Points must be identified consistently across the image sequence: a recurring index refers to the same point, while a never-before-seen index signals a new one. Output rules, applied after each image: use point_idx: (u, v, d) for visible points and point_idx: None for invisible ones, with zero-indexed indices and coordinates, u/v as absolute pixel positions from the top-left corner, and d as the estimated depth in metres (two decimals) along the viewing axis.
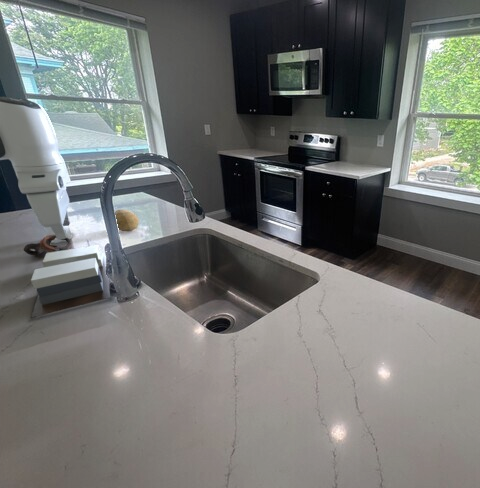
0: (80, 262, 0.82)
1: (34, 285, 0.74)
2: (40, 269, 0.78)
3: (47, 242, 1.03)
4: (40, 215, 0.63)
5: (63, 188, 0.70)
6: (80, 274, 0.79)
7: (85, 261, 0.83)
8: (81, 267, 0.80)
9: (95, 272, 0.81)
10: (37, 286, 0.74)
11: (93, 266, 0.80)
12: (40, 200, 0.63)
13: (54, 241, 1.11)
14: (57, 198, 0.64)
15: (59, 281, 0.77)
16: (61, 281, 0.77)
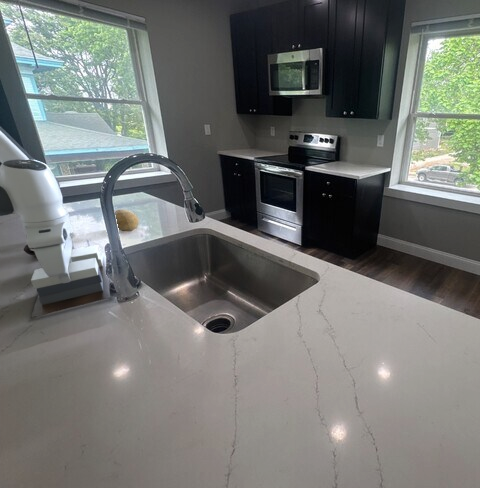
0: (80, 262, 0.82)
1: (34, 285, 0.74)
2: (40, 269, 0.78)
3: None
4: (46, 267, 0.69)
5: (67, 237, 0.76)
6: (80, 274, 0.79)
7: (85, 261, 0.83)
8: (81, 267, 0.80)
9: (95, 272, 0.81)
10: (37, 286, 0.75)
11: (93, 266, 0.80)
12: (46, 253, 0.68)
13: None
14: (62, 250, 0.70)
15: (59, 281, 0.77)
16: None
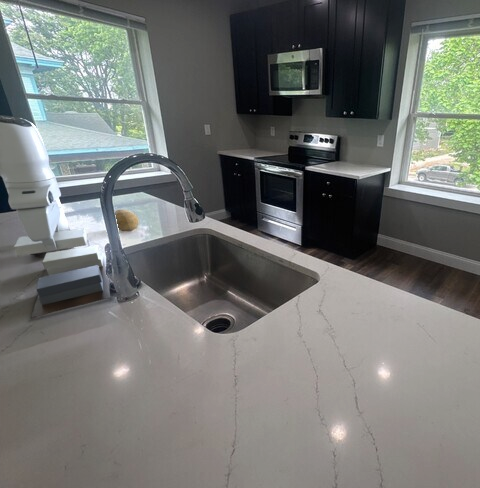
0: (68, 231, 0.78)
1: (17, 252, 0.70)
2: (25, 237, 0.74)
3: None
4: (29, 230, 0.65)
5: (53, 202, 0.72)
6: (68, 243, 0.75)
7: (73, 231, 0.79)
8: (68, 236, 0.76)
9: (83, 242, 0.76)
10: (21, 253, 0.70)
11: (81, 235, 0.76)
12: (29, 215, 0.64)
13: None
14: (47, 213, 0.66)
15: (45, 249, 0.73)
16: None
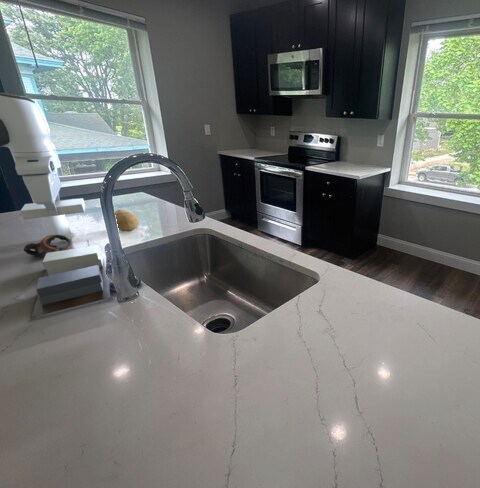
0: (68, 200, 0.87)
1: (23, 216, 0.79)
2: (30, 204, 0.83)
3: (47, 242, 1.03)
4: (34, 194, 0.74)
5: (55, 172, 0.81)
6: (68, 209, 0.84)
7: (73, 200, 0.88)
8: (68, 204, 0.85)
9: (82, 209, 0.86)
10: (26, 217, 0.80)
11: (80, 203, 0.86)
12: (34, 181, 0.73)
13: (54, 241, 1.11)
14: (49, 179, 0.75)
15: (47, 214, 0.82)
16: None
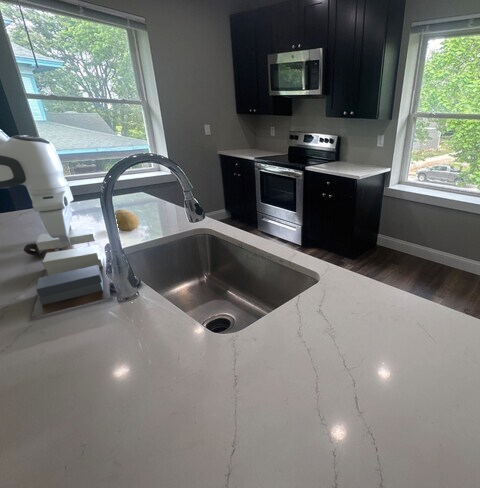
0: (79, 230, 0.92)
1: (39, 247, 0.84)
2: (44, 234, 0.88)
3: None
4: (49, 229, 0.79)
5: (67, 205, 0.86)
6: (80, 239, 0.89)
7: (84, 229, 0.93)
8: (80, 233, 0.90)
9: (92, 238, 0.91)
10: (41, 248, 0.85)
11: (91, 233, 0.91)
12: (49, 216, 0.78)
13: None
14: (63, 215, 0.80)
15: (61, 244, 0.87)
16: (62, 244, 0.87)
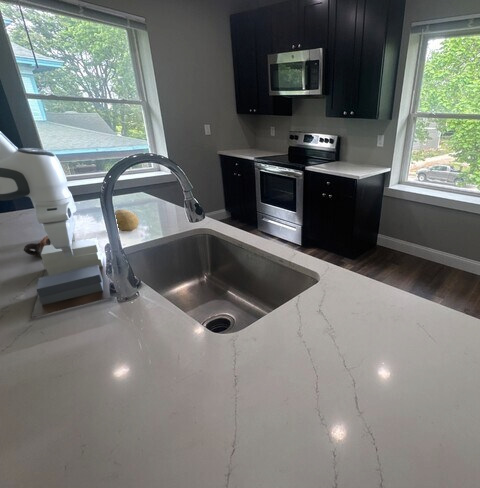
0: (83, 241, 0.94)
1: (43, 258, 0.86)
2: (48, 246, 0.90)
3: (47, 242, 1.03)
4: (53, 240, 0.80)
5: (71, 216, 0.87)
6: (83, 250, 0.91)
7: (87, 240, 0.95)
8: (84, 245, 0.92)
9: (96, 249, 0.92)
10: (46, 259, 0.86)
11: (94, 244, 0.92)
12: (53, 228, 0.80)
13: None
14: (66, 226, 0.81)
15: (65, 256, 0.89)
16: None
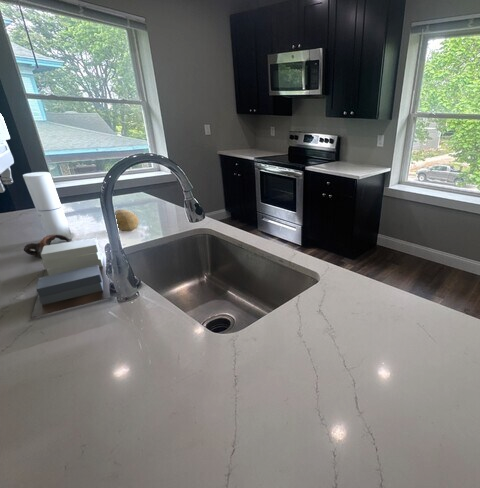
0: (83, 241, 0.94)
1: (43, 258, 0.86)
2: (48, 246, 0.90)
3: (47, 242, 1.03)
4: None
5: (2, 145, 0.74)
6: (83, 250, 0.91)
7: (87, 240, 0.95)
8: (84, 245, 0.92)
9: (96, 249, 0.92)
10: (46, 259, 0.86)
11: (94, 244, 0.92)
12: None
13: (54, 241, 1.11)
14: None
15: (65, 256, 0.89)
16: (66, 256, 0.89)
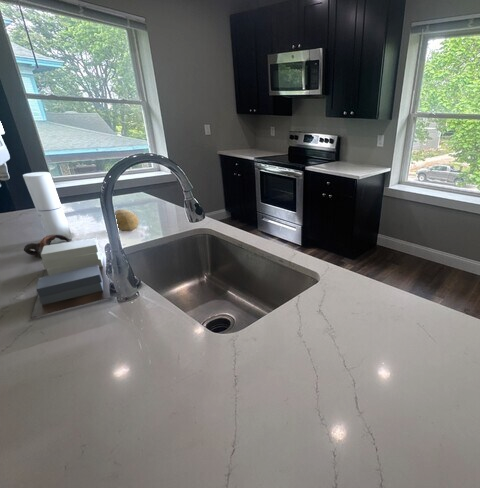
0: (83, 241, 0.94)
1: (43, 258, 0.86)
2: (48, 246, 0.90)
3: (47, 242, 1.03)
4: None
5: None
6: (83, 250, 0.91)
7: (87, 240, 0.95)
8: (84, 245, 0.92)
9: (96, 249, 0.92)
10: (46, 259, 0.86)
11: (94, 244, 0.92)
12: None
13: (54, 241, 1.11)
14: None
15: (65, 256, 0.89)
16: (66, 256, 0.89)
